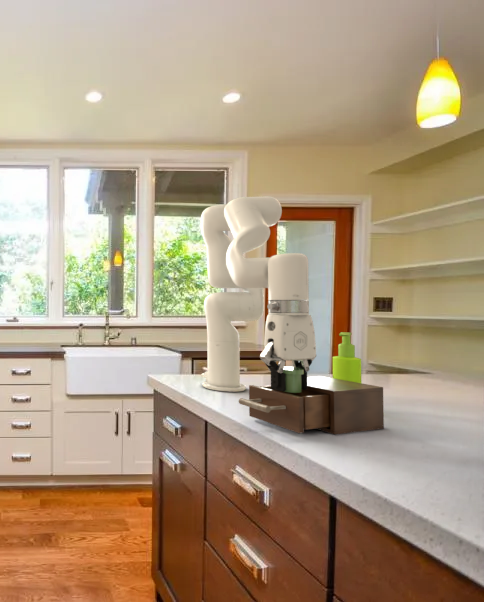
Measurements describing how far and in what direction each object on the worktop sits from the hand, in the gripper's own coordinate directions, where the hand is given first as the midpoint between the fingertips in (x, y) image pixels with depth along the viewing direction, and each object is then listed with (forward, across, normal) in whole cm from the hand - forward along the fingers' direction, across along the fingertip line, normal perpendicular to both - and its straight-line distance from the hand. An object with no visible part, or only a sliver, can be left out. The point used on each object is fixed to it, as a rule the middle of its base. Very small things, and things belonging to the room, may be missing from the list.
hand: (288, 388), depth 83 cm
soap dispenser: (+9, +29, +8) cm, 32 cm away
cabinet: (+8, +11, 0) cm, 14 cm away
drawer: (+8, -1, 0) cm, 8 cm away
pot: (0, 0, 0) cm, 0 cm away
